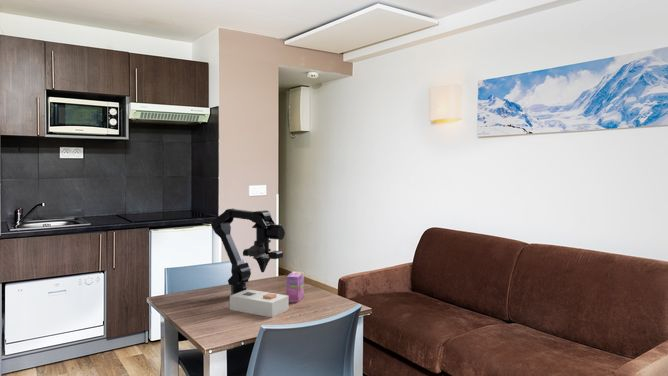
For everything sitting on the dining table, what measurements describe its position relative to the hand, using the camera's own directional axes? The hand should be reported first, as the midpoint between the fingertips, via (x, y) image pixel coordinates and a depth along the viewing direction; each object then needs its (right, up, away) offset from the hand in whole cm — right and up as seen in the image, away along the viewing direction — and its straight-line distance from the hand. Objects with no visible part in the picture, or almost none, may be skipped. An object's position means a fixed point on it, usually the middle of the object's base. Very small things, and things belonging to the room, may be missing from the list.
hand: (262, 272), depth 208 cm
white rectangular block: (+1, -14, -13) cm, 19 cm away
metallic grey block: (-4, -13, -11) cm, 17 cm away
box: (+15, -13, +3) cm, 20 cm away
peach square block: (+6, -12, -16) cm, 21 cm away
